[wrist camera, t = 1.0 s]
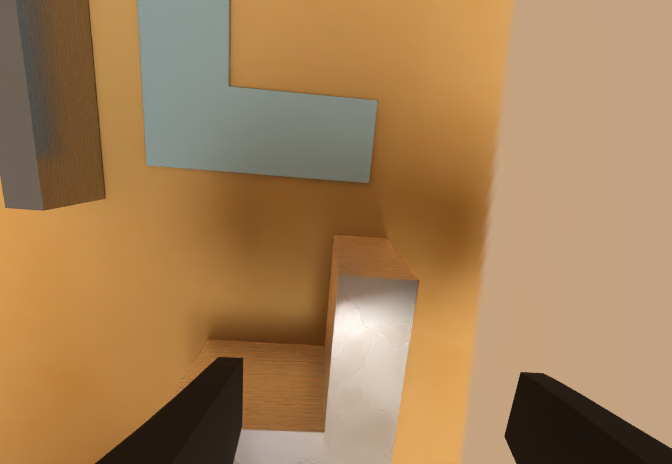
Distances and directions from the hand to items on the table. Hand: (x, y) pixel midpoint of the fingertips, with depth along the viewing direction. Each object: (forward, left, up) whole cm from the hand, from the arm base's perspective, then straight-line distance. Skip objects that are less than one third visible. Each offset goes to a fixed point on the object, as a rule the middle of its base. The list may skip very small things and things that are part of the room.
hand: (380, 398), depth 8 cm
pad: (+10, +5, -7) cm, 13 cm away
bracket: (-1, +3, -7) cm, 8 cm away
